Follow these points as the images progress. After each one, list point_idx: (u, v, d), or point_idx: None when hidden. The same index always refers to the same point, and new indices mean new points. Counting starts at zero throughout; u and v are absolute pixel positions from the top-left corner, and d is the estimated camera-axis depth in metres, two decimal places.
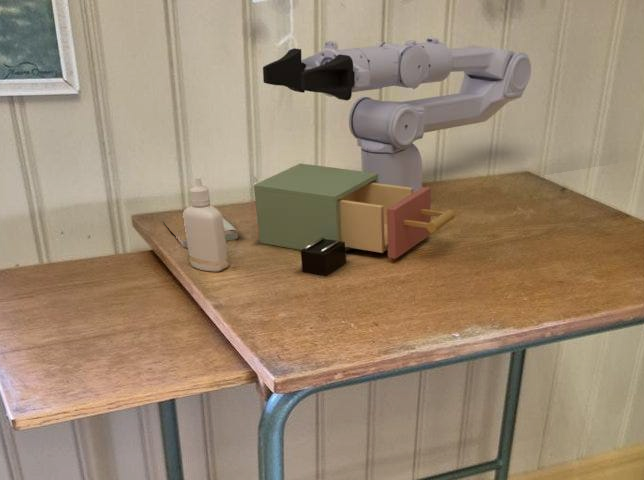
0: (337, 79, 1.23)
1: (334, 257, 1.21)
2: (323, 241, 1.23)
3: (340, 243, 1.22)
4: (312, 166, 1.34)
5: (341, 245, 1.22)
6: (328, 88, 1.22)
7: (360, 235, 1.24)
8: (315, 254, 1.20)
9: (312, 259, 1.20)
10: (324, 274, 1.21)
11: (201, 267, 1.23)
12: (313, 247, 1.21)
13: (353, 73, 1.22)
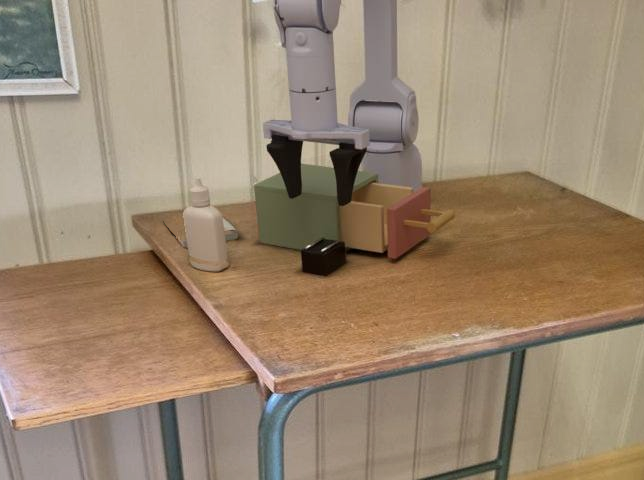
0: None
1: (334, 257, 1.21)
2: (323, 241, 1.23)
3: (340, 243, 1.22)
4: (312, 166, 1.34)
5: (341, 245, 1.22)
6: (352, 170, 1.15)
7: (360, 235, 1.24)
8: (315, 254, 1.20)
9: (312, 259, 1.20)
10: (324, 274, 1.21)
11: (201, 267, 1.23)
12: (313, 247, 1.21)
13: (355, 149, 1.11)
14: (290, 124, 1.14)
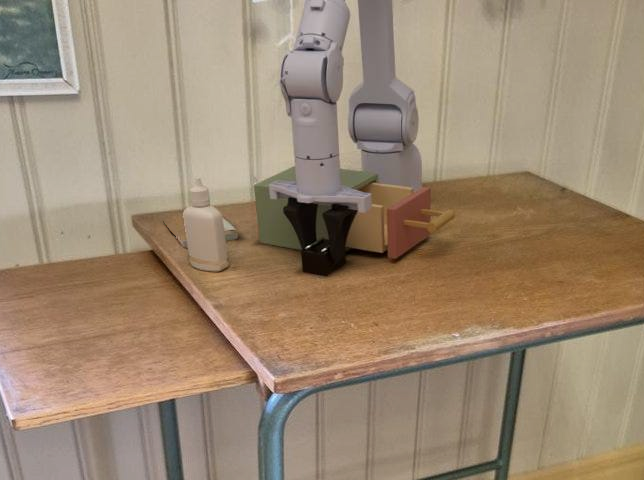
0: None
1: None
2: (323, 241, 1.23)
3: None
4: None
5: None
6: (345, 228, 1.20)
7: (360, 235, 1.24)
8: (315, 254, 1.20)
9: (312, 259, 1.20)
10: (324, 274, 1.21)
11: (201, 267, 1.23)
12: (313, 247, 1.21)
13: None
14: (295, 186, 1.19)
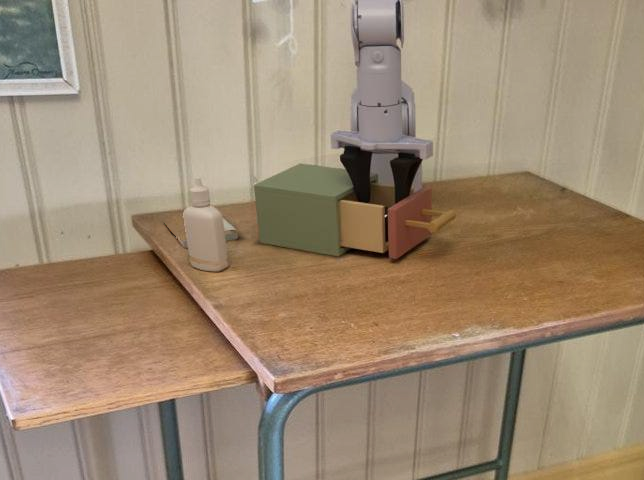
0: None
1: None
2: None
3: None
4: (312, 166, 1.34)
5: None
6: (409, 177, 1.23)
7: (361, 235, 1.24)
8: None
9: None
10: (385, 240, 1.25)
11: (201, 267, 1.23)
12: None
13: (419, 159, 1.19)
14: (357, 135, 1.22)
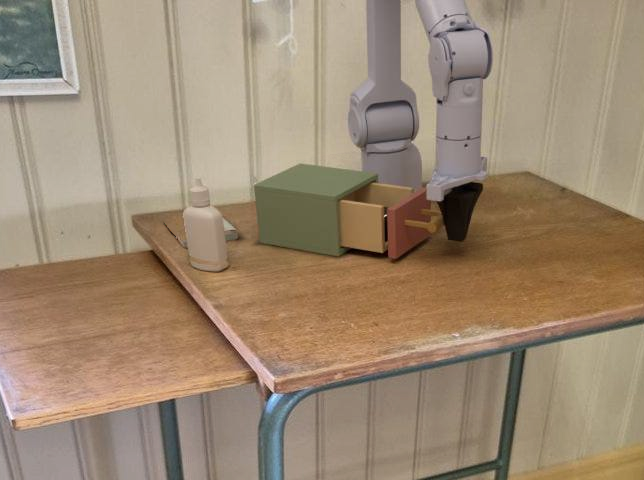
0: None
1: None
2: None
3: None
4: (312, 166, 1.34)
5: None
6: None
7: (361, 235, 1.24)
8: None
9: None
10: None
11: (201, 267, 1.23)
12: None
13: None
14: (446, 178, 1.15)
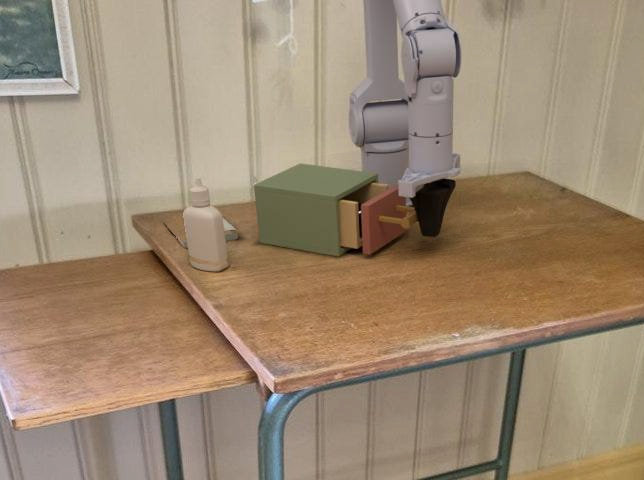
0: None
1: None
2: (358, 205, 1.29)
3: None
4: (312, 166, 1.34)
5: None
6: None
7: None
8: None
9: None
10: None
11: (201, 267, 1.23)
12: None
13: None
14: (418, 175, 1.17)
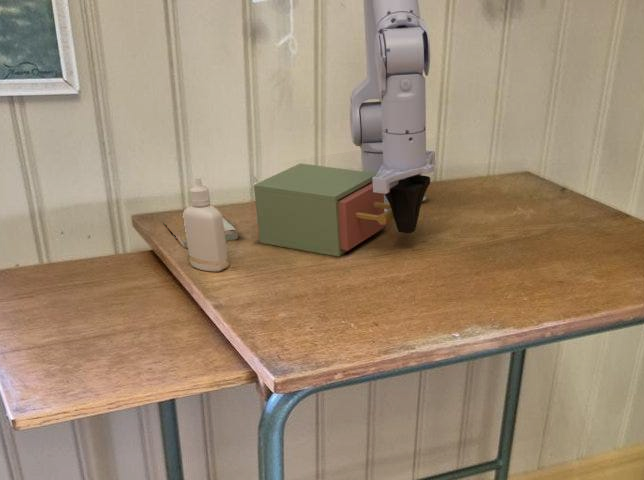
0: None
1: None
2: None
3: None
4: (312, 166, 1.34)
5: None
6: None
7: None
8: None
9: None
10: None
11: (201, 267, 1.23)
12: None
13: None
14: (393, 171, 1.18)
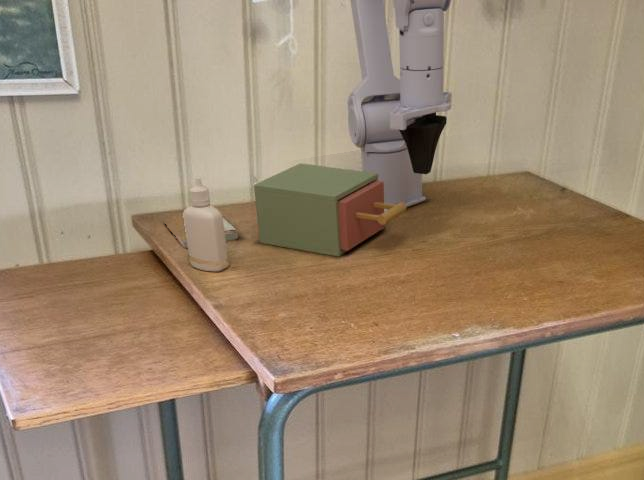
0: None
1: None
2: None
3: None
4: (312, 166, 1.34)
5: None
6: None
7: None
8: None
9: None
10: None
11: (201, 267, 1.23)
12: None
13: None
14: (410, 108, 1.19)
